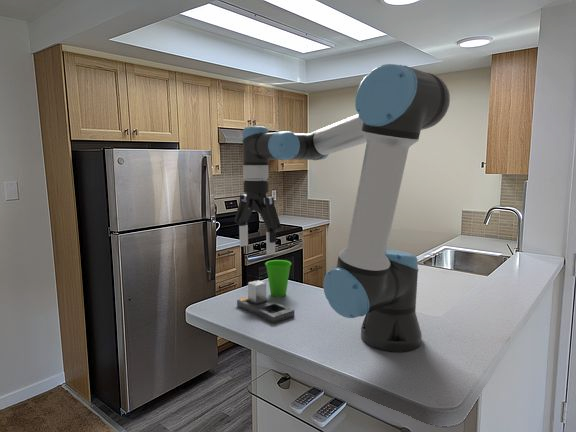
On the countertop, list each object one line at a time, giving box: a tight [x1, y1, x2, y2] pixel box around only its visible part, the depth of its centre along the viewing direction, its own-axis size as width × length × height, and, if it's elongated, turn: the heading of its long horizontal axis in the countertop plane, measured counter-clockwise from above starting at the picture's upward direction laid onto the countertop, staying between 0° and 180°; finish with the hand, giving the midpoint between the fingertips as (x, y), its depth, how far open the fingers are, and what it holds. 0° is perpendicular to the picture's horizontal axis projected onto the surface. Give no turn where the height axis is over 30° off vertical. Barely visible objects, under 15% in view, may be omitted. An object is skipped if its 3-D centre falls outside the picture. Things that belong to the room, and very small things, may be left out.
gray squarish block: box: [247, 279, 267, 306], centre depth 122 cm, size 4×4×8 cm
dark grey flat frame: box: [236, 296, 295, 325], centre depth 120 cm, size 18×8×2 cm, turn 42°
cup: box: [264, 259, 293, 298], centre depth 134 cm, size 9×9×11 cm
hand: (256, 249), depth 120 cm, fingers open, 13 cm apart
